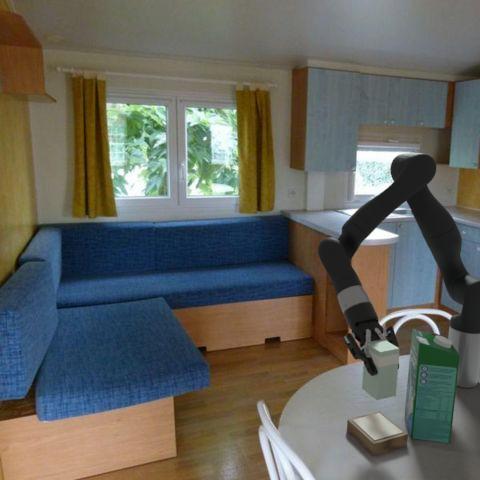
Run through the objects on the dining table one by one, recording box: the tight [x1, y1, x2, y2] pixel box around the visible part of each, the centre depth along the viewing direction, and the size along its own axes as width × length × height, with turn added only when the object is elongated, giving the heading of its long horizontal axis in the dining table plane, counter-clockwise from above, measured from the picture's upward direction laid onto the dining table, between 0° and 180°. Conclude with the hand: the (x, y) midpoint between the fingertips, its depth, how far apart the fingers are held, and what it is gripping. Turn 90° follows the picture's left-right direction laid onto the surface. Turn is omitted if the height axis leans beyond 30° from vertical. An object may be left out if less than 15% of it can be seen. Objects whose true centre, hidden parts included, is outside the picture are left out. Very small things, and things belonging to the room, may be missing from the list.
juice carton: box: [361, 340, 400, 401], centre depth 101 cm, size 6×6×12 cm
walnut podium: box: [346, 411, 409, 457], centre depth 104 cm, size 10×10×3 cm
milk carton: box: [404, 328, 460, 444], centre depth 105 cm, size 9×9×25 cm
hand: (385, 372), depth 99 cm, fingers closed on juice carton, 5 cm apart
